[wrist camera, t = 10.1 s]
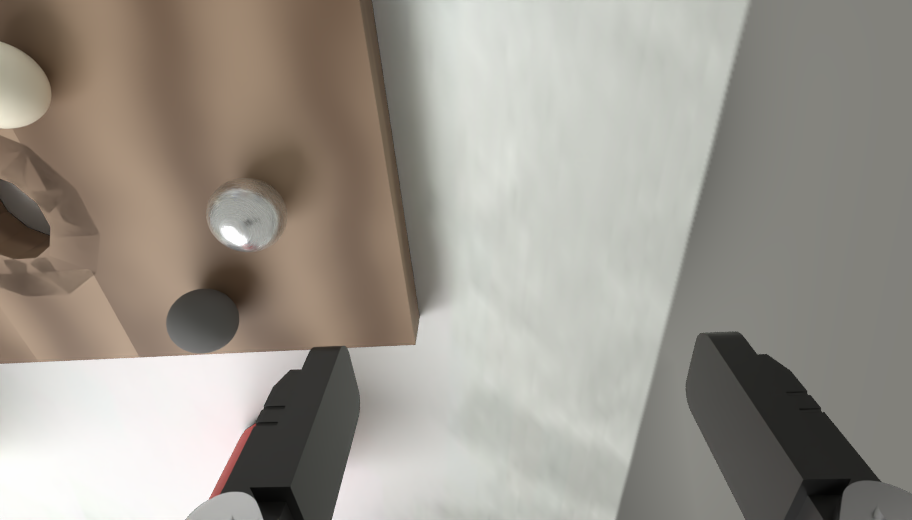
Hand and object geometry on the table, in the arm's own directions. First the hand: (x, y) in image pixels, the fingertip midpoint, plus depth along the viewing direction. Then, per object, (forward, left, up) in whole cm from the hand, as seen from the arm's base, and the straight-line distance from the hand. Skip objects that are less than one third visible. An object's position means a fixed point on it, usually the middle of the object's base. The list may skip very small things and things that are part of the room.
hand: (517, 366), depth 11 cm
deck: (0, +18, -14) cm, 23 cm away
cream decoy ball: (+6, +19, -10) cm, 22 cm away
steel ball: (0, +11, -10) cm, 15 cm away
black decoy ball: (-6, +15, -10) cm, 19 cm away
